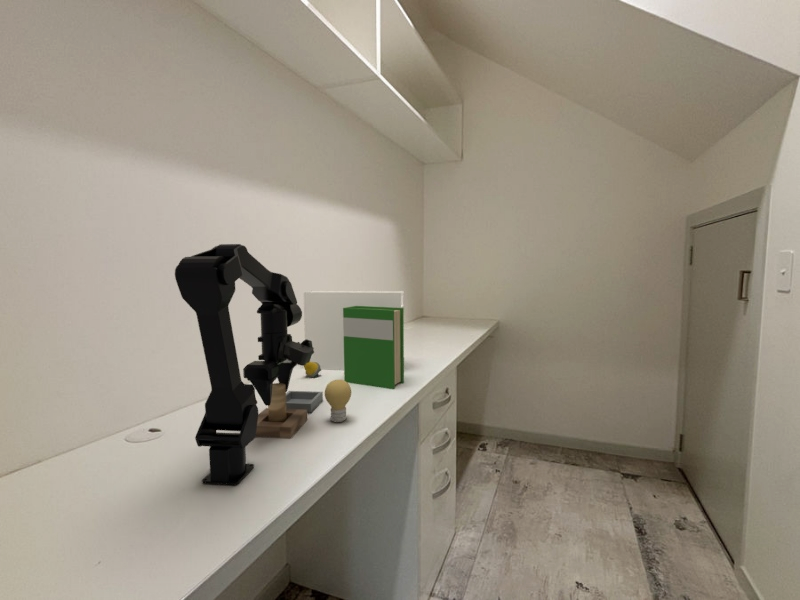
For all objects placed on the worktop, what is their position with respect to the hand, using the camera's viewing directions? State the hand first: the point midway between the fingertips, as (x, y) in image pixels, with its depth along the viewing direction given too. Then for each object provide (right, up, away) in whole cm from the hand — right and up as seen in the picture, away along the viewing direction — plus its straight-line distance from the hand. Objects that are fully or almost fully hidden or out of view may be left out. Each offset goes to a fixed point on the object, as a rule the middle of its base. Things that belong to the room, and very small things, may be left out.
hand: (276, 398), depth 91 cm
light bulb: (+14, -7, +5) cm, 16 cm away
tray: (+2, -6, +15) cm, 16 cm away
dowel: (0, -7, +1) cm, 7 cm away
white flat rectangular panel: (+12, -2, +54) cm, 55 cm away
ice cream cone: (-1, -4, +42) cm, 42 cm away
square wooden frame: (0, -7, +1) cm, 7 cm away
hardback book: (+20, -4, +36) cm, 41 cm away
